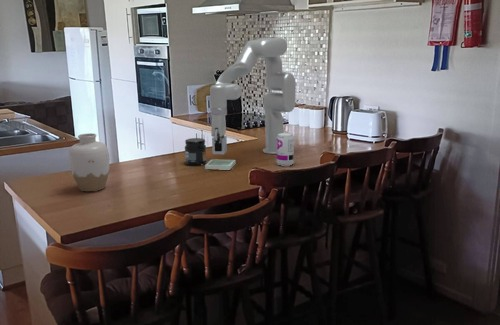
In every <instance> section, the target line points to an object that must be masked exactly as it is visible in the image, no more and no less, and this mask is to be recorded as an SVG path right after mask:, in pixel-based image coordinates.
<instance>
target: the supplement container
mask: <svg viewBox="0 0 500 325" xmlns="http://www.w3.org/2000/svg"><path fill="white" fill-rule="evenodd" d="M184 142H185V146H184V154H185V155H184V157H185V158H184V159H185V164H186V165H187V164H188V166H191V165H199V166H202V165H201V164H203V165H206V164H207V163H208V161H207V146H206V144H205V143H206V140H205V138H201V137H194V138H193V137H192V138H187V139H185V141H184Z"/></svg>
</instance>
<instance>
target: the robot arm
mask: <svg viewBox="0 0 500 325" xmlns="http://www.w3.org/2000/svg"><path fill="white" fill-rule="evenodd" d="M287 50H288V42H287V40H286V39H284V38H283V37H262V38H259V39H251V40H248V41H247V42H246V43H245V44H244V46H243V48H242V50H241V52H240V53H239V56H238V57H237V59H236V61H235V62H234V64H232V65H231V66H229V67H228V68H227V69H226V70H224V71H223V72H222V73H221V74H220V75H219V77H218V79H217V80H216V81H215V84H212V85H210V88H209V95H210V96H209V102H210V116H211V122H210V123H211V126H210V128H211V130H210V132H211V133H210V134H211V137H212V138H213V137H214V140H215V141H214V143H215V151H222V144H221V137H222V136H225V134H226V132H227V125H226V124H227V123H226V121H227V120H226V116H227V115H228V108H227V106H228V103H227V101H228V100H230V101H235V100H239V98H240V97H242V95H243V89H242V87H241V86H240V85H239V84H238V83H233V81H235V80H238V79H239V78H241V77H244V76H247V75H249V74H250V73H251V72H252V70H253V68H254V66H255V64H256V62H257V61H258V59H261V58H262V59H263V60H264V62H265V85H266V88H267V89H269V90H270V91H279V92H269V93H267V94H266V95H264V97H263V100H262V102H263V103H262V104H263V108H264V116H265V117H264V118H265V120H264V121H265V122H264V123H265V148H263V149H262V152H263V153H264V154H270V155H277V136H278V134H279V133H284V117H283V114H282V113H291V112H293V110H294V109H295V107H296V96H297V95H296V92H297V90H296V86H297V83H296V78H295V76H294V75H293V73H291V72H286V71H284V70H283V60H282V57H281V56H283V55H285V53H286V52H287ZM280 91H281V92H282V93H281V92H280ZM218 135H219V136H218Z"/></svg>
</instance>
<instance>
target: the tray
mask: <svg viewBox="0 0 500 325" xmlns="http://www.w3.org/2000/svg"><path fill="white" fill-rule="evenodd" d="M235 164H236V159H216V158H215V159H214V158H213V159H210V160H209V161H207V162H206V163H205V164H204V170H205V169H219V170H230V169H231V168H232V167H233V166H234V165H235ZM236 165H237V164H236ZM236 165H235V166H236ZM235 166H234V167H235ZM234 167H233V168H234ZM233 168H232V169H233Z"/></svg>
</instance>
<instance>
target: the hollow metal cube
mask: <svg viewBox="0 0 500 325" xmlns="http://www.w3.org/2000/svg"><path fill="white" fill-rule="evenodd" d="M227 138H228V136H227V135H224V136H222V138H221V144H222V151H215V143H214V141H215V140H214V137H212V138H211V144H212V145H211V146H212V147H211V148H212V155H225V154H226V153H227V152H228V144H227V143H228V142H227Z"/></svg>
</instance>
